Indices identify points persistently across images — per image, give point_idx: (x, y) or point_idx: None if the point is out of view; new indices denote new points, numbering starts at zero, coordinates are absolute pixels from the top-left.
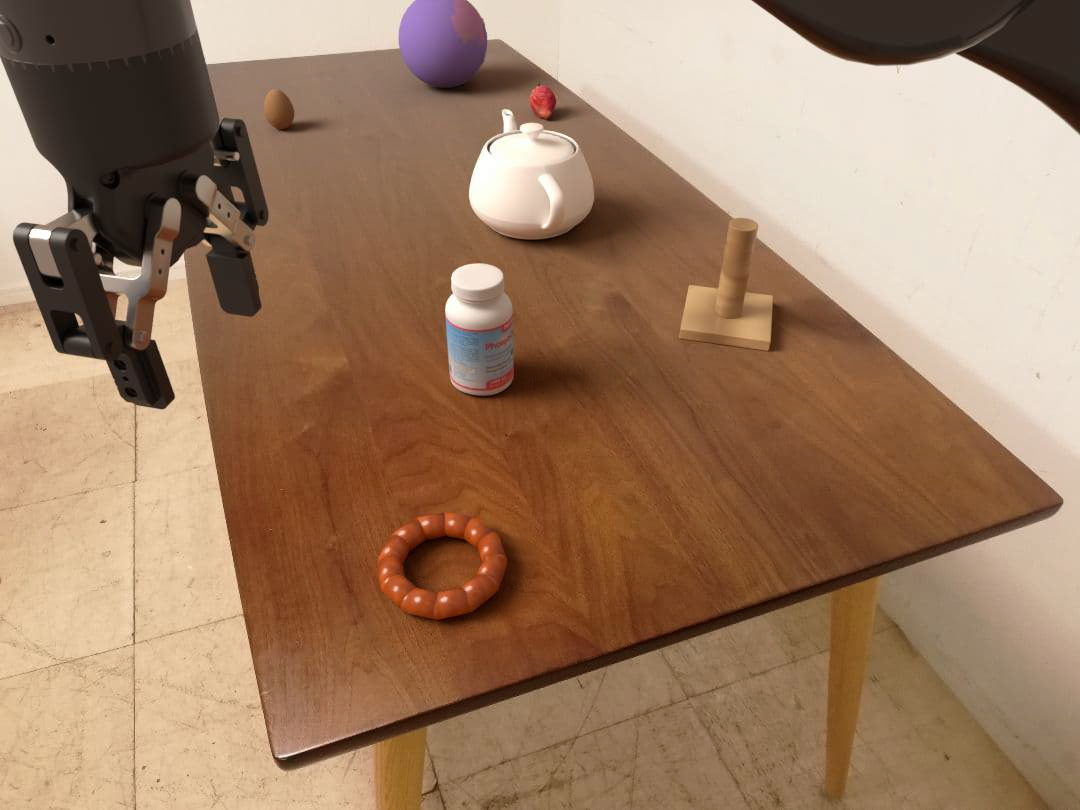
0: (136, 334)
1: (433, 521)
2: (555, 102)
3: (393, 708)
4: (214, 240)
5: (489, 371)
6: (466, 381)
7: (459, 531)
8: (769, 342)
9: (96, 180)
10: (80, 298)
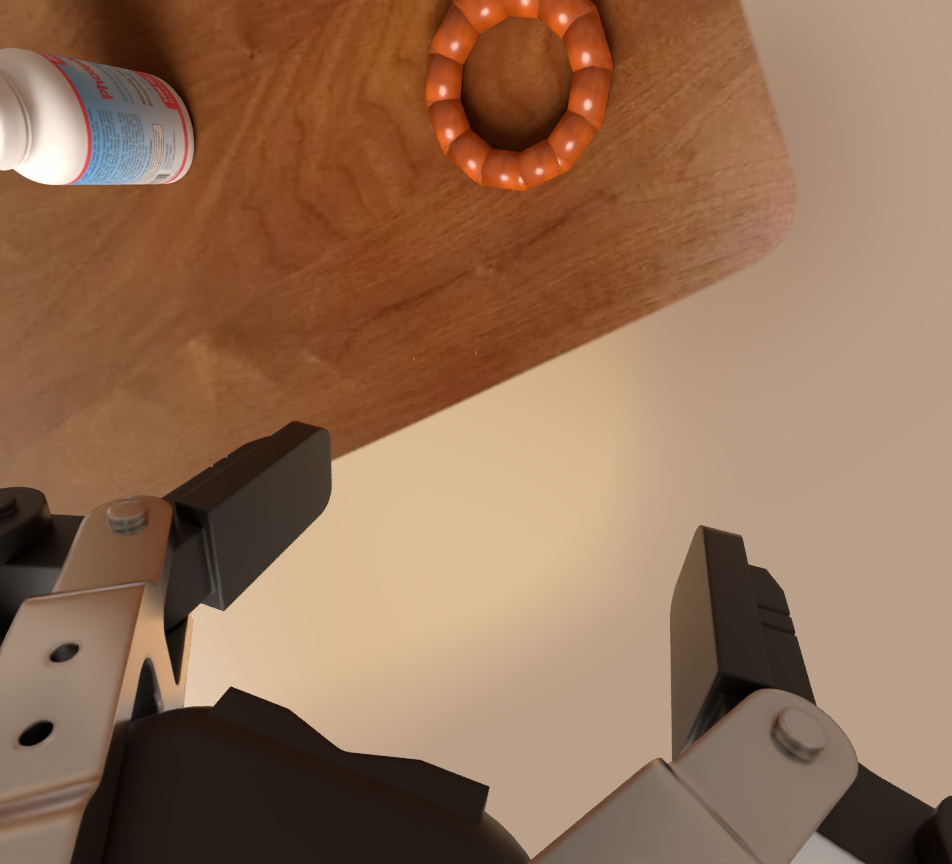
0: (831, 769)
1: (449, 117)
2: None
3: (755, 97)
4: (173, 614)
5: (148, 99)
6: (177, 144)
7: (457, 71)
8: None
9: None
10: None
